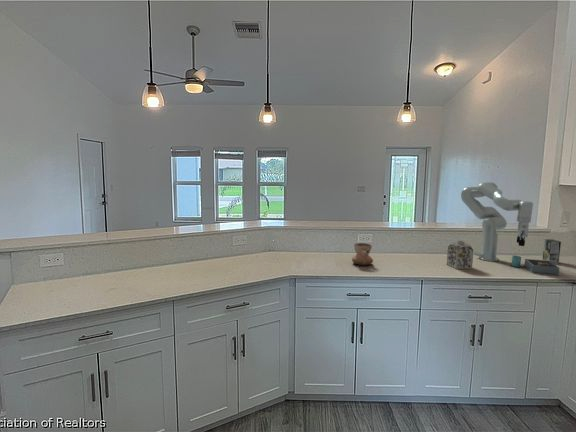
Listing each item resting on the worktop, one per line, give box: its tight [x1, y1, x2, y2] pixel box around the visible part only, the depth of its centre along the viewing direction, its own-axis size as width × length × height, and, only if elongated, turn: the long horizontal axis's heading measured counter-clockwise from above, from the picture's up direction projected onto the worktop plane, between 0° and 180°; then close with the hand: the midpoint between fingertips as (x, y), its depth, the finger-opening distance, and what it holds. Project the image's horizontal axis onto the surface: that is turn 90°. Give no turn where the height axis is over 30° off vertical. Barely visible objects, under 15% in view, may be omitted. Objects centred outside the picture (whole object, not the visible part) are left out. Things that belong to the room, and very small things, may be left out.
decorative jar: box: [446, 240, 474, 270], centre depth 227 cm, size 12×12×18 cm
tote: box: [524, 258, 560, 276], centre depth 220 cm, size 18×14×5 cm
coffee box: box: [542, 238, 562, 265], centre depth 239 cm, size 9×6×16 cm
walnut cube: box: [537, 262, 550, 267], centre depth 216 cm, size 5×5×5 cm
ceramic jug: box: [351, 242, 374, 266], centre depth 235 cm, size 18×14×14 cm
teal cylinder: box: [510, 255, 522, 268], centre depth 229 cm, size 5×5×7 cm
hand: (520, 244), depth 226 cm, fingers open, 9 cm apart
